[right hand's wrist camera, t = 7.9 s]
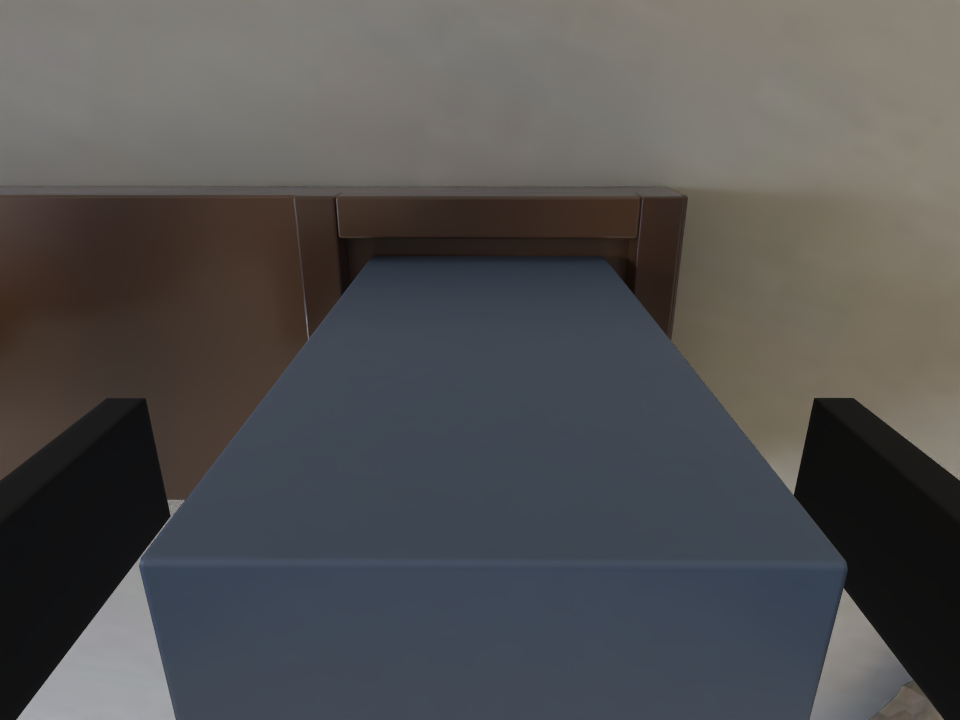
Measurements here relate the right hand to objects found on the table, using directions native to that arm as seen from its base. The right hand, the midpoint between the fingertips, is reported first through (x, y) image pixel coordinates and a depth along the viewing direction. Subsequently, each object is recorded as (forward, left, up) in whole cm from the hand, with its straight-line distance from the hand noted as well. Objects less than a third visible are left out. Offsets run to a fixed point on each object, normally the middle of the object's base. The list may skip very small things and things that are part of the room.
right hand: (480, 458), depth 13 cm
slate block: (0, 0, -5) cm, 5 cm away
